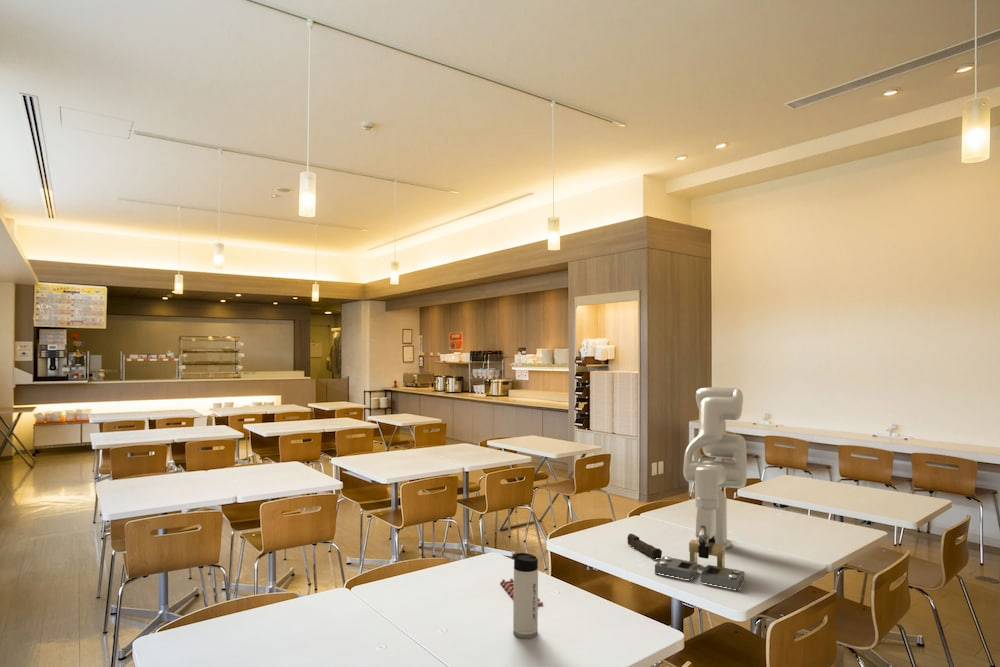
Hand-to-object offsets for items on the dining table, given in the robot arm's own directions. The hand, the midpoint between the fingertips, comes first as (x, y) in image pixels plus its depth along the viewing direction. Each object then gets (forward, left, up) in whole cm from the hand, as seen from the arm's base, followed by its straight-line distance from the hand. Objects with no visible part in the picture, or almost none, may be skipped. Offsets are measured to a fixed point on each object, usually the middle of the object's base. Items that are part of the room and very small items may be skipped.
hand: (707, 553), depth 201 cm
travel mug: (+76, -28, -5) cm, 81 cm away
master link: (0, 0, -5) cm, 5 cm away
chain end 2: (+11, +7, -5) cm, 14 cm away
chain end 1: (+11, -7, -5) cm, 14 cm away
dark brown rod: (-4, -24, -5) cm, 25 cm away
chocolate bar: (+55, -41, -5) cm, 69 cm away
